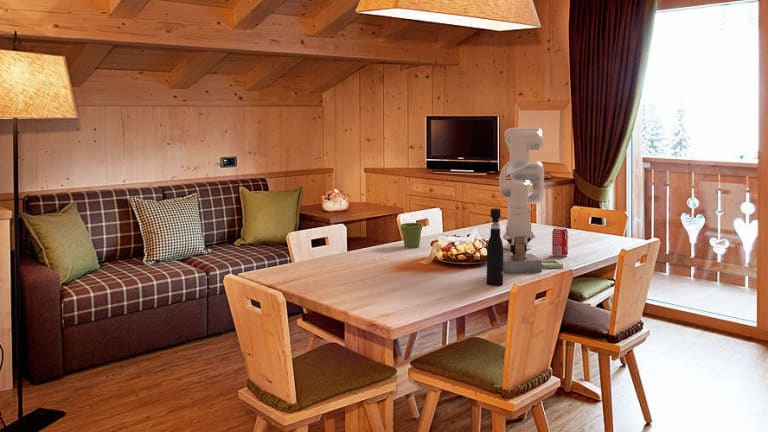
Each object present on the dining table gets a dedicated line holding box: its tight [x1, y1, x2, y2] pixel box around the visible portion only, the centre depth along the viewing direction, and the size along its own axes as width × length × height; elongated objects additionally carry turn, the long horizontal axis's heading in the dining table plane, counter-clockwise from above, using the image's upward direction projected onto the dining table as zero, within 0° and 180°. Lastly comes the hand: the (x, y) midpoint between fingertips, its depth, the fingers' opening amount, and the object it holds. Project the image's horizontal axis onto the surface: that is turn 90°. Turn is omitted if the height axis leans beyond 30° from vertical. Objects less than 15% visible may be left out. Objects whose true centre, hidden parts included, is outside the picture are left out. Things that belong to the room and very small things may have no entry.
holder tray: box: [541, 259, 564, 270], centre depth 328 cm, size 9×9×2 cm
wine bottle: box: [486, 207, 504, 287], centre depth 296 cm, size 6×6×30 cm
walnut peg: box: [513, 236, 525, 259], centre depth 322 cm, size 4×4×16 cm
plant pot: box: [399, 222, 424, 249], centre depth 373 cm, size 12×12×11 cm
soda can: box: [551, 226, 569, 258], centre depth 348 cm, size 7×7×13 cm
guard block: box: [503, 253, 543, 274], centre depth 323 cm, size 14×16×5 cm
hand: (518, 253), depth 322 cm, fingers closed on walnut peg, 4 cm apart
